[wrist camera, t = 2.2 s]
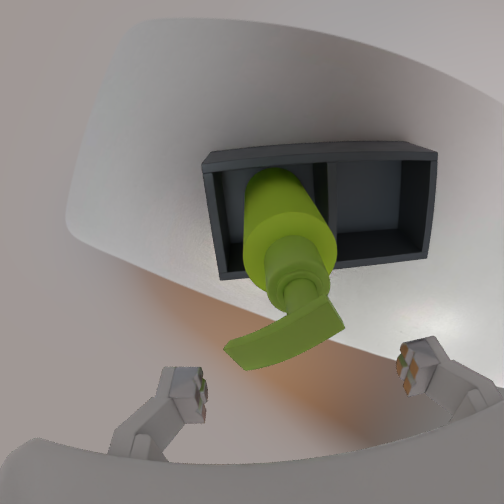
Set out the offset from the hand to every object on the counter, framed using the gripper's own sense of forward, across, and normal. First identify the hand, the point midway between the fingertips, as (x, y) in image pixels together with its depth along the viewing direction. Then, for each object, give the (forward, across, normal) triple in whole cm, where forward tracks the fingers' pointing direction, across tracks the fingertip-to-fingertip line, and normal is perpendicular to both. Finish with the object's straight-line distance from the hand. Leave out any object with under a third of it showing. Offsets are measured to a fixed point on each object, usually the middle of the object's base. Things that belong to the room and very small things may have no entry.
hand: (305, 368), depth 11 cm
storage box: (+22, -5, 0) cm, 23 cm away
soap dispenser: (+22, 0, 0) cm, 22 cm away
